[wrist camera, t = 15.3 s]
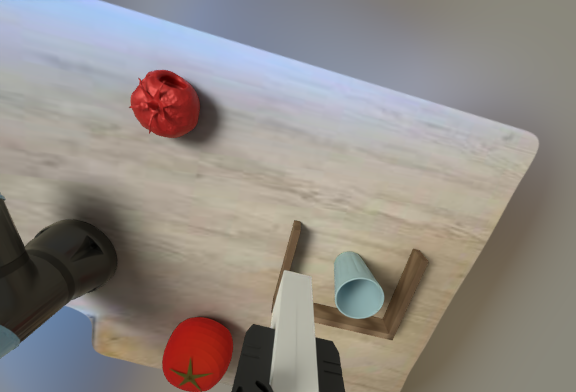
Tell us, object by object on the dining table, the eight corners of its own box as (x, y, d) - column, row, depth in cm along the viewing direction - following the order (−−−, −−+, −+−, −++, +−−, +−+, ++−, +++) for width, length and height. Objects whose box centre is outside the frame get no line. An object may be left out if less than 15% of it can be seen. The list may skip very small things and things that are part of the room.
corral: (273, 298, 56) (271, 312, 52) (294, 220, 51) (294, 229, 47) (386, 324, 57) (392, 340, 53) (419, 250, 51) (428, 261, 48)
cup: (333, 285, 54) (341, 323, 44) (323, 251, 52) (329, 284, 42) (371, 276, 53) (388, 313, 44) (363, 241, 51) (378, 272, 41)
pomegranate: (210, 134, 47) (190, 141, 38) (153, 136, 47) (120, 144, 38) (201, 70, 44) (177, 62, 35) (140, 74, 44) (101, 67, 35)
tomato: (173, 345, 61) (145, 397, 50) (186, 297, 57) (158, 342, 46) (228, 361, 62) (212, 416, 51) (244, 315, 58) (231, 364, 47)
